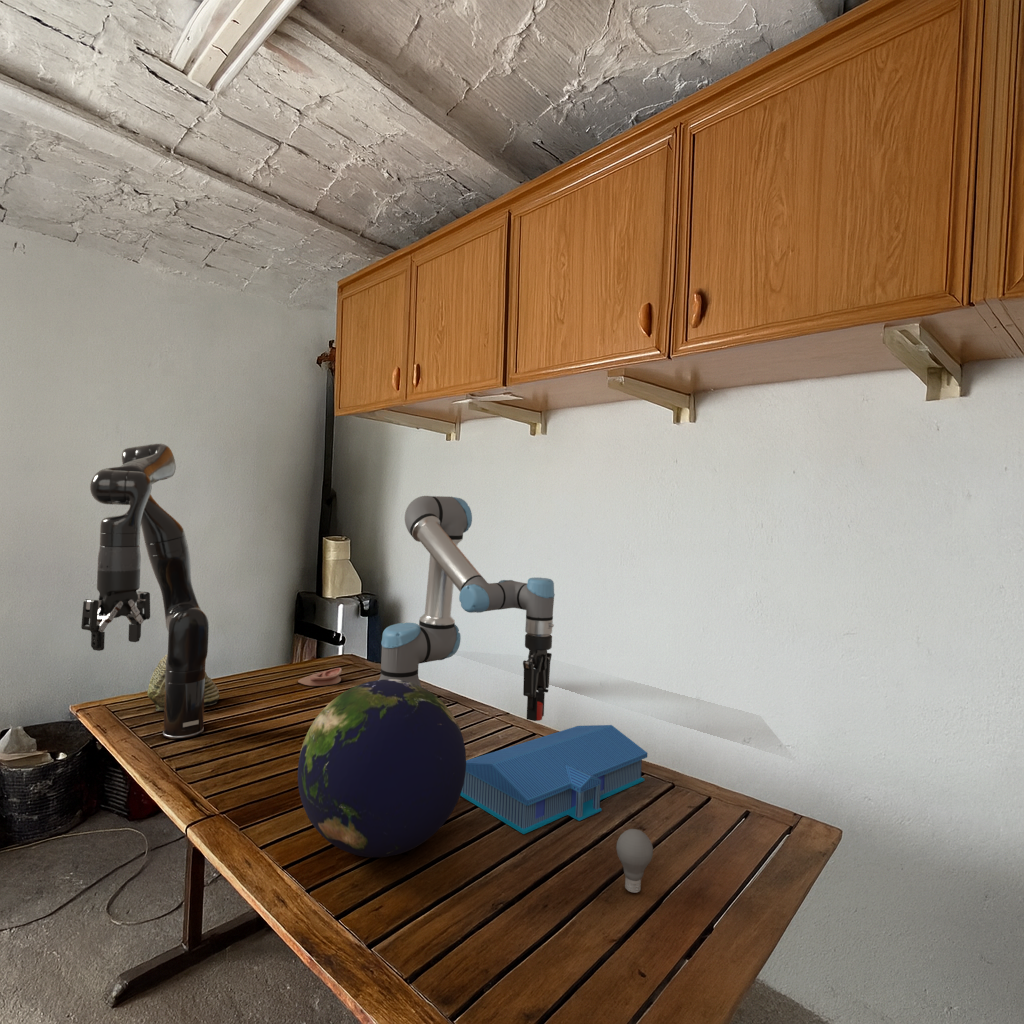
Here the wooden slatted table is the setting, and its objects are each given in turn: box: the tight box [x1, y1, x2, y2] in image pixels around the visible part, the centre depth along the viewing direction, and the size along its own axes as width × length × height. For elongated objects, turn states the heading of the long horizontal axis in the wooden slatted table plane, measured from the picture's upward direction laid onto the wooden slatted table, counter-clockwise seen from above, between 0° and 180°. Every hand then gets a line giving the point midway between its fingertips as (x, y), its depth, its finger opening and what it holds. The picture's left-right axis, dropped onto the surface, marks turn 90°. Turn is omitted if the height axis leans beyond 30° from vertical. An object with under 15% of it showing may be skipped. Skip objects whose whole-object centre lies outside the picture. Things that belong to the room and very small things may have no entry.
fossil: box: [147, 654, 221, 712], centre depth 185 cm, size 9×18×15 cm, turn 132°
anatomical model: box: [297, 667, 343, 687], centre depth 214 cm, size 13×4×12 cm
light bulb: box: [615, 828, 654, 894], centre depth 106 cm, size 6×6×10 cm
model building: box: [460, 724, 649, 835], centre depth 142 cm, size 39×24×10 cm, turn 132°
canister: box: [536, 702, 543, 722], centre depth 176 cm, size 4×4×4 cm
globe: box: [297, 679, 467, 858], centre depth 116 cm, size 30×30×30 cm
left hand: (116, 645), depth 131 cm, fingers open, 8 cm apart
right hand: (535, 717), depth 176 cm, fingers closed on canister, 4 cm apart
